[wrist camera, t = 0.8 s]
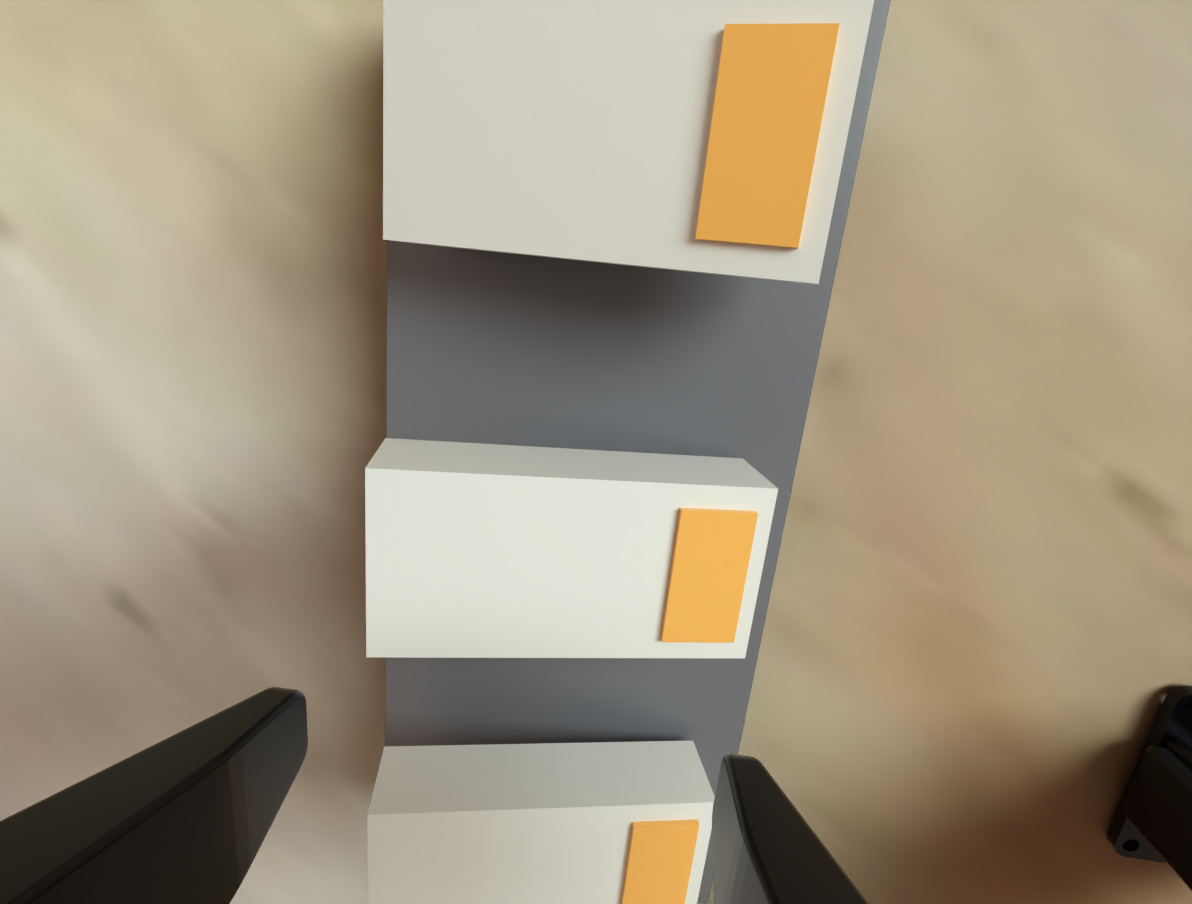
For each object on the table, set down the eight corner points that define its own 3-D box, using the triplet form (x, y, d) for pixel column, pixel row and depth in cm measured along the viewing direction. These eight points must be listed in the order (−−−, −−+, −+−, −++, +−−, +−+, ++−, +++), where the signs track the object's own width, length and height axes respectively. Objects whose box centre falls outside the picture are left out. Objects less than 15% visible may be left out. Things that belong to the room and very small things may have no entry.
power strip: (894, -265, 14) (985, -470, 10) (698, 795, 22) (707, 902, 19) (459, -289, 15) (390, -491, 11) (429, 754, 23) (384, 850, 19)
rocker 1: (863, 39, 10) (878, -20, 8) (816, 285, 12) (818, 284, 10) (445, 39, 13) (377, -7, 11) (439, 245, 14) (377, 239, 12)
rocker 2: (742, 458, 14) (781, 491, 12) (716, 609, 16) (747, 662, 14) (385, 437, 13) (363, 470, 11) (384, 604, 14) (364, 661, 12)
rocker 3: (693, 740, 17) (718, 807, 15) (673, 854, 18) (694, 931, 16) (384, 746, 15) (366, 820, 13) (383, 868, 17) (366, 954, 15)
